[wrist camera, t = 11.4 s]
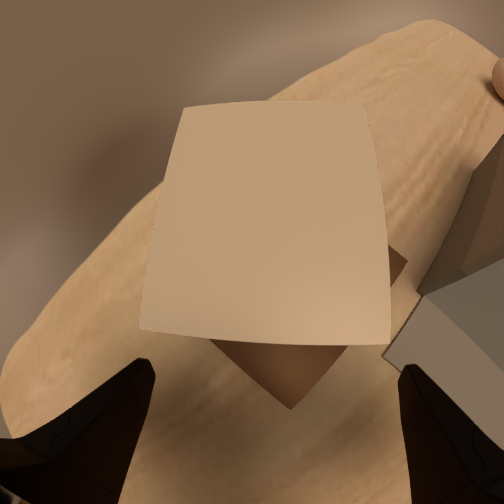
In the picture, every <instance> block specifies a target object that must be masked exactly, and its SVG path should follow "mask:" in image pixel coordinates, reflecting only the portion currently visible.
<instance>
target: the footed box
mask: <svg viewBox="0 0 504 504" xmlns="http://www.w3.org/2000/svg"><path fill="white" fill-rule="evenodd" d="M139 329H141V330H148V331H154V332H161V333H168V334H175V335H183V336H191V337H200V338H209V339H219V340H229V341H241V342H255V343H272V344H294V345H377V344H390V332H391V295H390V269H389V254H388V241H387V231H386V221H385V213H384V205H383V198H382V191H381V184H380V178H379V172H378V167H377V161H376V156H375V151H374V146H373V141H372V137H371V132H370V128H369V124H368V119H367V115H366V111H365V108H364V104H359V103H347V102H331V101H304V100H277V101H249V102H235V103H222V104H211V105H204V106H203V105H202V106H194V107H187V108H184V110H183V113H182V116H181V120H180V123H179V126H178V130H177V133H176V137H175V140H174V144H173V147H172V151H171V154H170V159H169V162H168V166H167V170H166V174H165V178H164V182H163V186H162V190H161V195H160V199H159V204H158V208H157V213H156V218H155V223H154V228H153V233H152V238H151V244H150V249H149V255H148V261H147V267H146V274H145V280H144V287H143V295H142V303H141V311H140V320H139Z"/></svg>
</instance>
